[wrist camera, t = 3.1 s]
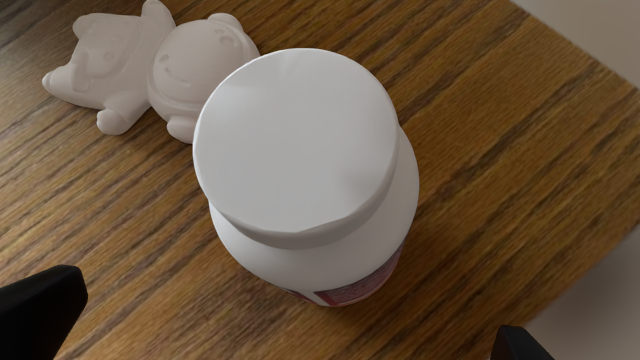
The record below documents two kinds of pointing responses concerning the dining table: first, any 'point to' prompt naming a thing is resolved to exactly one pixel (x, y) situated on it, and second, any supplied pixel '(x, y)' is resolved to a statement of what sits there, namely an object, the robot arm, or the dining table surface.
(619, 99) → the dining table surface
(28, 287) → the robot arm
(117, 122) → the white cartoon figurine
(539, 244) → the dining table surface
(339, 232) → the pill bottle
